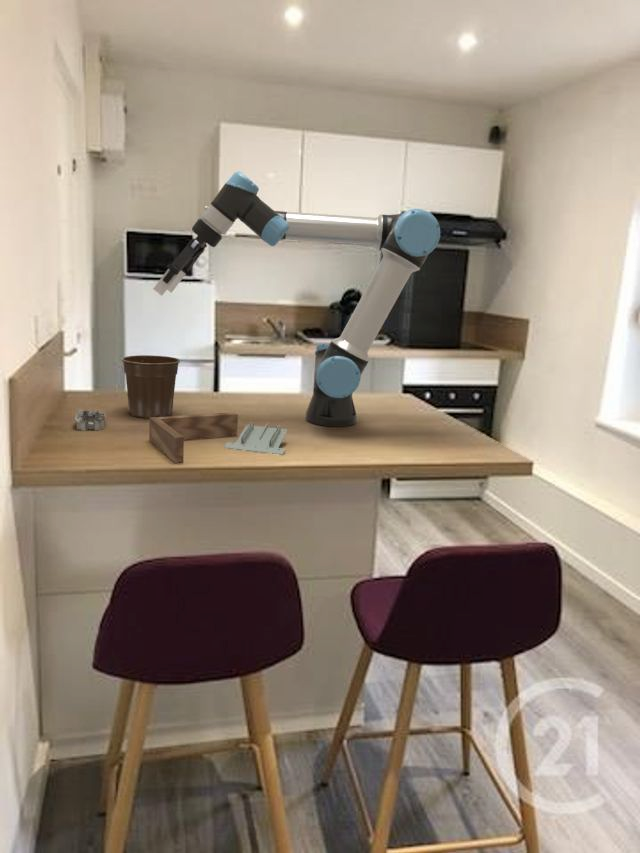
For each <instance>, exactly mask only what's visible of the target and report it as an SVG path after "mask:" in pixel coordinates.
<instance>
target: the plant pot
mask: <svg viewBox="0 0 640 853" xmlns="http://www.w3.org/2000/svg"><path fill="white" fill-rule="evenodd" d="M121 361H122V363H123V371H124V372H123V373H124V374H125V381H126V392H127V401H128V402H127V404H128V414H130V415H131V416H132V417H137V418H143V419H149V418H152V417H168V416H169V415H170V416H172V414H173V407H174V406H173V405H174V397H175V388H176V381H177V380H176V378H177V375H178V371H179V368H178V367H179V363H181V359H179V358H177V357H173V356H165V355H151V354H150V355H146V354H145V355H143V354H141V355H140V354H139V355H138V354H137V355H129V356H124V357H123V356H122V358H121Z"/></svg>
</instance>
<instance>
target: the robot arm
mask: <svg viewBox="0 0 640 853" xmlns="http://www.w3.org/2000/svg"><path fill="white" fill-rule="evenodd" d="M258 192H259V186H258V185H257V184H256V183H255V182H253V181H252V180H251V179H250V178H249V177H248V176H247V175H245V174H244V173H243V172H241V171H235V172H234V173H233V174H232V175H231V176H230V178H229V179H228V180H227V181H226V182H225V183H224V185H223V186H222V187H221V189H220V190H219V192H218V193H217V195H216V196H215V197H214V198H213V200H212V201H211V202H210V204H209V205H205V206H204V212H203V213H202V214H201V218H198V219H197V221H196V222H194V224H193V225H192V228H191V230H192V232H193V233H194V234H196V237H195V238H194V237H192V238H191V239H190V240H189V242H188V243H187V245H186V246H185V247H184V248H183V249H182V251H181V252H180V253H179V254H178V255H177V257H175V259H174V260H173V261H172V262H171V263H170V264H169V263H167V265H166V266H165V267H166V268H167V270H166V271H165V273H164V274H163V276H161V277H160V279H159V280H158V282H157V283H156V284H155V286H154V287H153V288H152V289H153V290H154V291H155V292H156V293H158V294H159V295H160V296H163V295H164V294H165V292H166V291H169V293H173V291H174V290H175V289H176V288H177V287H178V285H179V284H180V282H181V281H182V280H183V279H184V277H185V276H186V275H187V276H189V275H190V274H191V269H192V268H193V266H194V265H195V263H196V261H197V260H198V259H199V258H200V256H201V255H202V254H203V253H204V251H205V250H206V249H205V248H207V246H208V245H209V246H210V247H212V248H216V247H217V246H218V244H219V243H220V241H221V240H222V239H223V238H222V237H223V236H222V235H226V234H227V233H228V231H229V230H230V229H231V227H233V225H234V224H235V222H236V220H237V219H238V220H239V221H240V222H242V223H243V224H244V225H245V226H246V227H248V229H250V230H251V231H252V232H253V233H254V234H256V236H258V237H259V238H260V239H261V240H262V241H263V242H265V243H267V244H268V245H269V246H270V247H275V246H277V245H278V243H280V241H281V240H282V241H283V240H286V241H300V242H315V243H327V244H328V243H329V244H340V245H341V244H343V245H356V246H369V247H371V246H373V247H374V248H375V249H376V250H377V251H381V252H382V259H381V261H380V263H379V264H378V266H377V268H376V270H375V271H374V273H373V275H372V277H371V279H370V281H369V283H368V285H367V287H366V288H365V290H364V292H363V294H361V298H360V300H359V301H358V303H357V305H356V306H355V308H354V310H353V312H352V314H351V315H350V318H349V320H347V321H348V322H347V323H346V324H345V327H344V328H343V331H342V332H341V334H340V336H339V337H336V338H334V339H332V340H330V343H318V344H316V347H315V352H314V355H315V356H314V357H315V359H314V373H313V374H314V377H313V393H312V396H311V399H310V402H309V404H308V405H307V406H308V407H307V409H306V412H305V420H306V421H307V422H308V423H311V424H314V425H318V426H319V425H320V426H324V427H325V426H326V427H348V426H353V425H355V424H356V422H357V413H356V412H357V411H356V407H355V404H354V400H353V399H354V398H353V393H354V392H356V391H357V389H358V387H359V386H360V382H361V378H362V374H363V372H364V371H365V369H366V367H367V366H368V363H369V362H370V357H369V354H368V353H369V350H370V348H371V346H372V345H373V343H374V341H375V339H376V338H377V336H378V334H379V332H381V331H380V330H381V329H382V327H383V326H384V324H385V321H386V320H387V318H388V316H389V314H390V313H391V310H392V309H393V307H394V305H395V304H396V302H397V300H398V298H399V296H400V295H401V292H402V290H404V287H405V285H406V284H407V282H408V280H409V278H410V276H411V274H413V273H415V272H418V271H420V270H421V268H422V266H423V265H424V263H425V261H426V260H427V258H428V255H429V254H431V253H432V252H433V251H434V250H435V249H436V248H437V246H438V244H439V242H440V239H441V228H440V227H441V226H440V224H439V221H438V220H437V218H436V217H435V216H434V215H433V213H431V212H429V211H427V210H424V209H421V208H412V209H411V208H410V209H408V210H406V211H404V212H401V213H397V214H379V215H378V216H376V217H370V216H369V217H366V216H354V215H353V216H352V215H351V216H350V215H336V214H326V213H323V214H321V213H310V212H295V211H294V212H293V211H283V210H282V211H281V210H274V209H273V208H272V207H270V206H269V205H268V204H266V203H265V202H264V201H263V200H262V199H261V198H260V197H259V196H258V195H257V194H258Z"/></svg>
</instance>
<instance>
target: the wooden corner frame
mask: <svg viewBox="0 0 640 853" xmlns="http://www.w3.org/2000/svg"><path fill="white" fill-rule="evenodd" d="M238 415H239V414H238V413H237V412H220V413H219V412H218V413H203V414H202V413H200V414H188V415H187V414H186V415H174V416H172V415H170V416H166V417H160V416H156V417H152V418H148V421H149V422H148V425H149V426H148V427H149V429H148V438H149V439H148V441H149V442H150V444H152V443H153V444H154V445H155V446H154V445H153V444H152V445H153V446H154V447H156V449H158V448H159V449H160V450H161V451H162V452H161V451H160V450H159V449H158V450H159V451H160V452H161V453H163V454H164V455H165V454H166V455H167V456H168V457H169V458H168V457H167V456H166V455H165V456H166V457H167V458H168V459H169V460H170V461H171V462H173V461H174V462H175V463H174V462H173V463H174V464H179V463H178V462H182V463H184V456H185V455H184V451H185V448H184V447H185V446H184V445H185V444H184V442H185V441H187V440H186V439H195V440H201V439H200V438H207V439H216V438H217V439H219V437H220V438H231V437H232V438H233V437H238V419H239V418H238Z"/></svg>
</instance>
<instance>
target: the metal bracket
mask: <svg viewBox="0 0 640 853" xmlns="http://www.w3.org/2000/svg"><path fill="white" fill-rule="evenodd" d="M287 432H288V429H287V428H282V427H281V425H277V426H276V427H269V423H268V422H266V424H265V426H261V425H255V424H254V422H252V421H251V422H249V424H247V425H245V427H244V428H243V430H242V432H241V434H240V435H239V436H238V438H237V439H236V441H235V442H233V441H227V442H226V444H225V445H224V447H223V448H228V449H227V450H230V449H236V450H235V451H241V450H246V451H245V452H249V451H254V452H253V453H257V452H263V453H262V454H265V453H272V454H279V455H283V456H284V454H285V452H286V448H283V447H280V445H281V444H282V441H283V440H284V438H285V436H286V434H287Z"/></svg>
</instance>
